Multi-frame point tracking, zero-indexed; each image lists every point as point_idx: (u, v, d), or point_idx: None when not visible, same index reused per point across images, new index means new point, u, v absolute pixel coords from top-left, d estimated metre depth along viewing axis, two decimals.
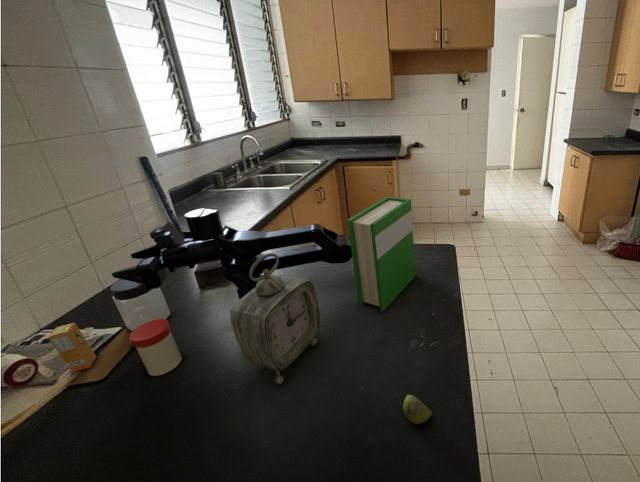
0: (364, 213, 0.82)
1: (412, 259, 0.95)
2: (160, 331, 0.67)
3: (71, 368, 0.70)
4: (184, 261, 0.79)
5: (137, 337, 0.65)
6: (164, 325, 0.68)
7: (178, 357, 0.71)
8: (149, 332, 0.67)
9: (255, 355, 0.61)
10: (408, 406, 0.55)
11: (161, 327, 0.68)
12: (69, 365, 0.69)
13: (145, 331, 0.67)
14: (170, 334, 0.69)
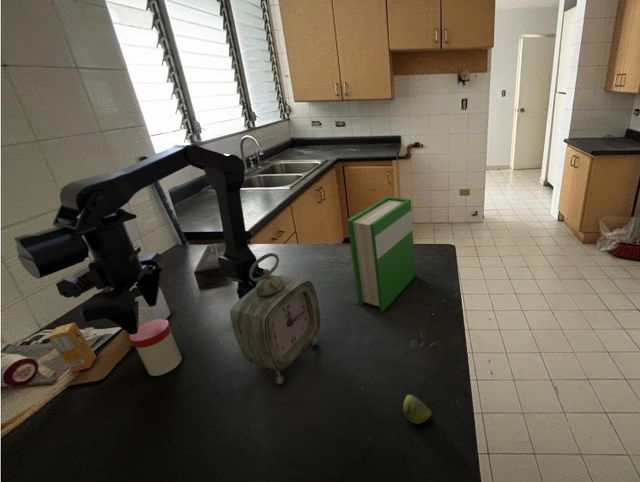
0: (364, 213, 0.82)
1: (412, 259, 0.95)
2: (160, 331, 0.67)
3: (71, 368, 0.70)
4: (114, 267, 0.59)
5: (137, 337, 0.65)
6: (164, 325, 0.68)
7: (178, 357, 0.71)
8: (149, 332, 0.67)
9: (255, 355, 0.61)
10: (408, 406, 0.55)
11: (161, 327, 0.68)
12: (69, 365, 0.69)
13: (145, 331, 0.67)
14: (170, 334, 0.69)
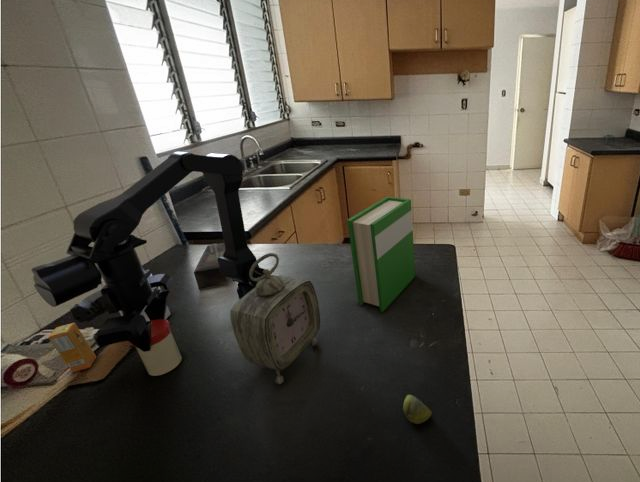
0: (364, 213, 0.82)
1: (412, 259, 0.95)
2: (160, 331, 0.67)
3: (71, 368, 0.70)
4: (125, 292, 0.61)
5: None
6: (164, 325, 0.68)
7: (178, 357, 0.71)
8: None
9: (255, 355, 0.61)
10: (408, 406, 0.55)
11: (161, 327, 0.68)
12: (69, 365, 0.69)
13: None
14: (170, 334, 0.69)
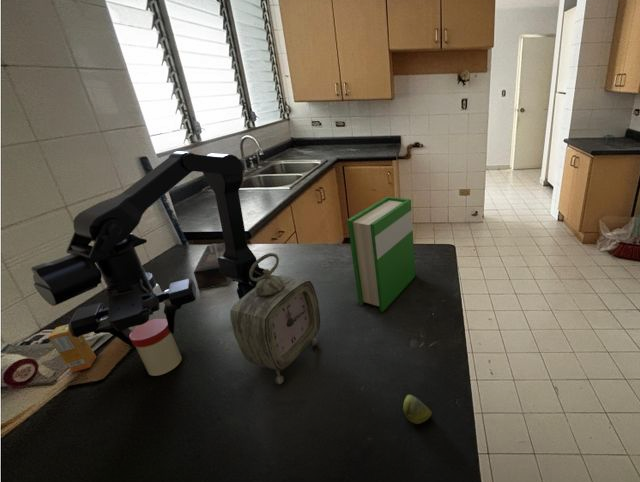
0: (364, 213, 0.82)
1: (412, 259, 0.95)
2: (159, 319, 0.70)
3: (71, 368, 0.70)
4: None
5: (159, 329, 0.67)
6: (148, 322, 0.69)
7: (178, 357, 0.71)
8: (155, 325, 0.68)
9: (255, 355, 0.61)
10: (408, 406, 0.55)
11: (151, 322, 0.69)
12: (69, 365, 0.69)
13: (151, 329, 0.67)
14: (170, 334, 0.69)
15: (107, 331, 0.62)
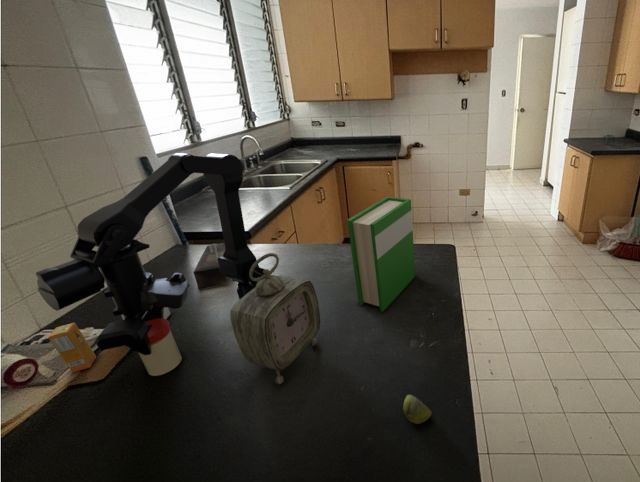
0: (364, 213, 0.82)
1: (412, 259, 0.95)
2: None
3: (71, 368, 0.70)
4: None
5: (160, 321, 0.69)
6: None
7: (178, 358, 0.71)
8: None
9: (255, 355, 0.61)
10: (408, 406, 0.55)
11: None
12: (69, 365, 0.69)
13: (152, 326, 0.68)
14: (170, 334, 0.69)
15: None
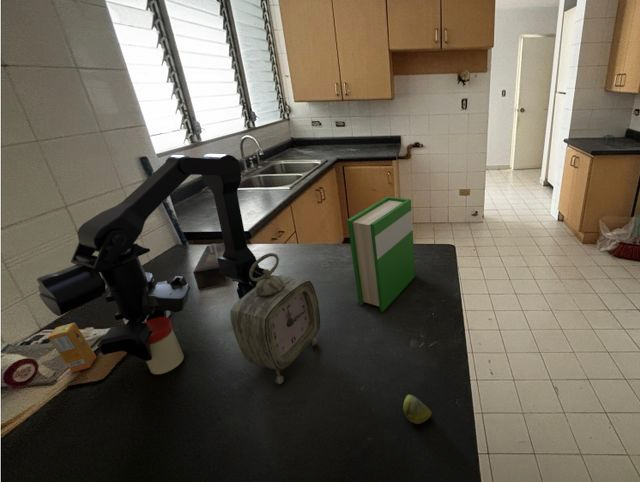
0: (364, 213, 0.82)
1: (412, 259, 0.95)
2: None
3: (71, 368, 0.70)
4: None
5: (162, 319, 0.70)
6: None
7: (180, 356, 0.71)
8: (151, 324, 0.68)
9: (255, 355, 0.61)
10: (408, 406, 0.55)
11: None
12: (69, 365, 0.69)
13: (155, 325, 0.68)
14: (172, 333, 0.70)
15: None
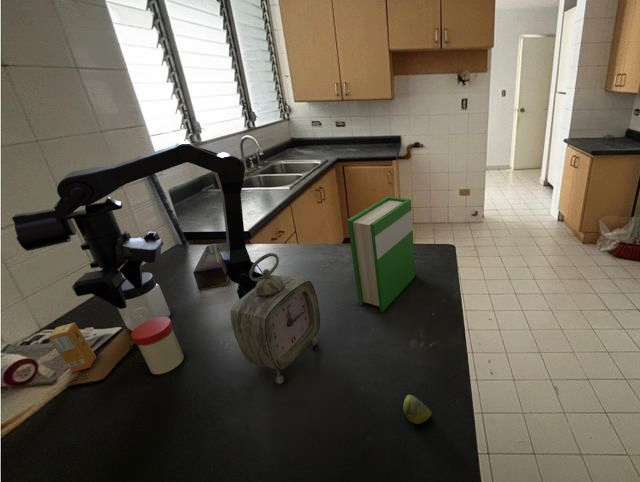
0: (364, 213, 0.82)
1: (412, 259, 0.95)
2: (140, 325, 0.68)
3: (71, 368, 0.70)
4: None
5: (162, 319, 0.70)
6: (135, 331, 0.67)
7: (180, 356, 0.71)
8: (151, 324, 0.68)
9: (255, 355, 0.61)
10: (408, 406, 0.55)
11: (139, 329, 0.67)
12: (69, 365, 0.69)
13: (155, 325, 0.68)
14: (172, 333, 0.70)
15: (121, 285, 0.67)
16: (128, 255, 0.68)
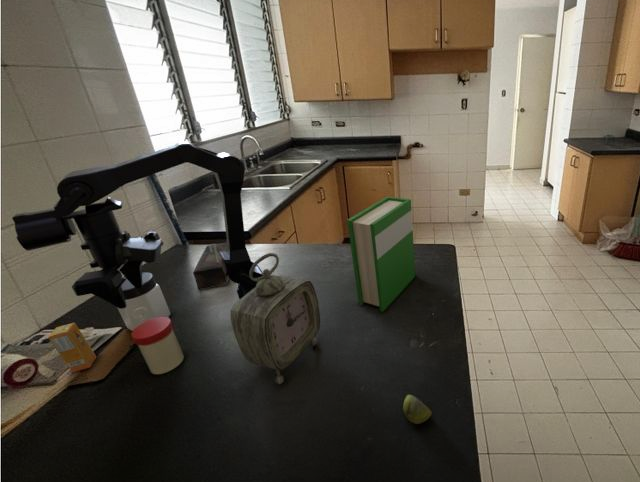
0: (364, 213, 0.82)
1: (412, 259, 0.95)
2: (140, 325, 0.68)
3: (71, 368, 0.70)
4: None
5: (162, 319, 0.70)
6: (135, 331, 0.67)
7: (180, 356, 0.71)
8: (151, 324, 0.68)
9: (255, 355, 0.61)
10: (408, 406, 0.55)
11: (139, 329, 0.67)
12: (69, 365, 0.69)
13: (155, 325, 0.68)
14: (172, 333, 0.70)
15: (121, 285, 0.67)
16: (128, 255, 0.68)
